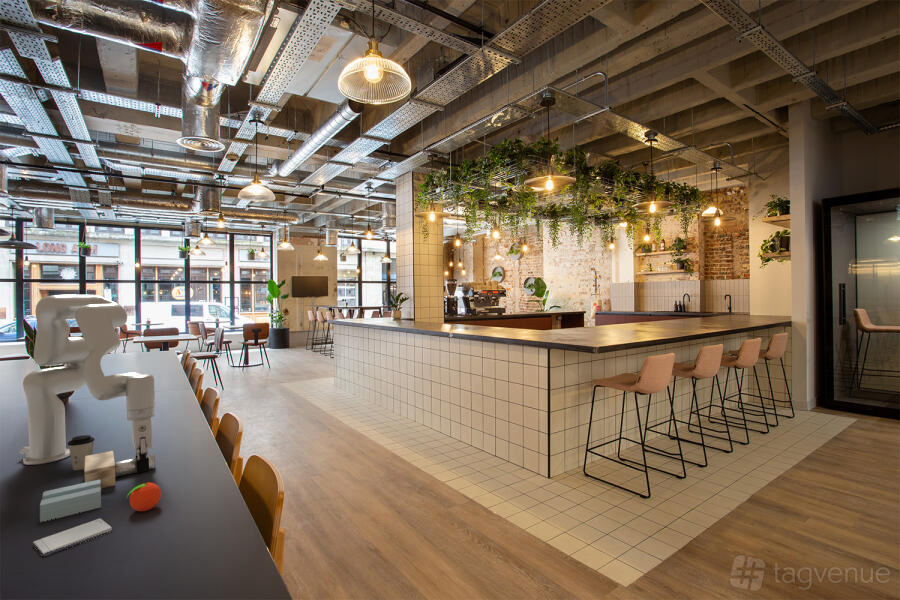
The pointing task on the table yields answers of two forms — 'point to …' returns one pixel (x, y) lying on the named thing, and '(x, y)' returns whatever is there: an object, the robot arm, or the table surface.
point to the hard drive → (72, 535)
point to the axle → (132, 466)
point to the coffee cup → (80, 450)
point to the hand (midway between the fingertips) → (142, 468)
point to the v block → (70, 500)
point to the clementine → (144, 496)
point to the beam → (100, 468)
